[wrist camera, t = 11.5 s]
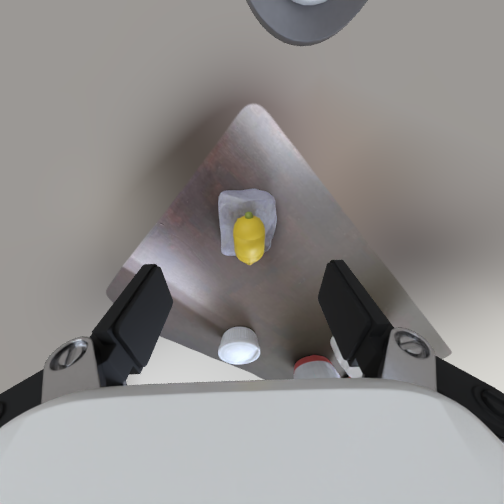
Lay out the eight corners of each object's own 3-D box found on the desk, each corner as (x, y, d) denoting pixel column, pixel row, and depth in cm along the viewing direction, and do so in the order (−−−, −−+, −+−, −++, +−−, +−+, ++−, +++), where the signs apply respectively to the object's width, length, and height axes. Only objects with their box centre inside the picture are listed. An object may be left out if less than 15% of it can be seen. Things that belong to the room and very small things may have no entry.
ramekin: (255, 347, 55) (256, 365, 51) (218, 345, 54) (216, 364, 50) (262, 324, 50) (264, 343, 45) (221, 321, 48) (219, 340, 44)
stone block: (272, 185, 32) (214, 188, 30) (282, 193, 28) (216, 197, 26) (267, 243, 38) (220, 248, 36) (275, 256, 35) (222, 262, 33)
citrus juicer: (307, 379, 68) (328, 459, 51) (279, 363, 61) (292, 449, 44) (345, 364, 63) (382, 447, 46) (318, 344, 56) (351, 434, 39)
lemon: (232, 205, 27) (230, 220, 23) (264, 204, 27) (267, 219, 23) (236, 255, 33) (235, 274, 29) (262, 254, 33) (264, 273, 29)
